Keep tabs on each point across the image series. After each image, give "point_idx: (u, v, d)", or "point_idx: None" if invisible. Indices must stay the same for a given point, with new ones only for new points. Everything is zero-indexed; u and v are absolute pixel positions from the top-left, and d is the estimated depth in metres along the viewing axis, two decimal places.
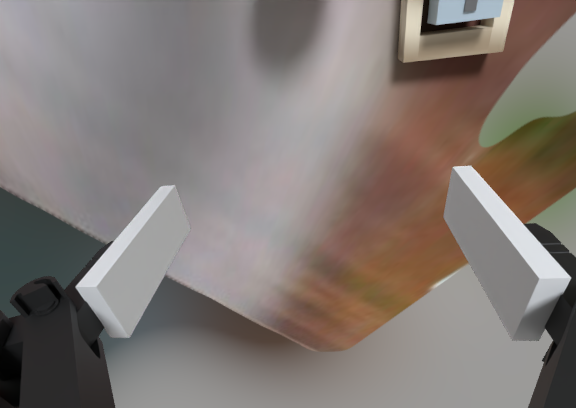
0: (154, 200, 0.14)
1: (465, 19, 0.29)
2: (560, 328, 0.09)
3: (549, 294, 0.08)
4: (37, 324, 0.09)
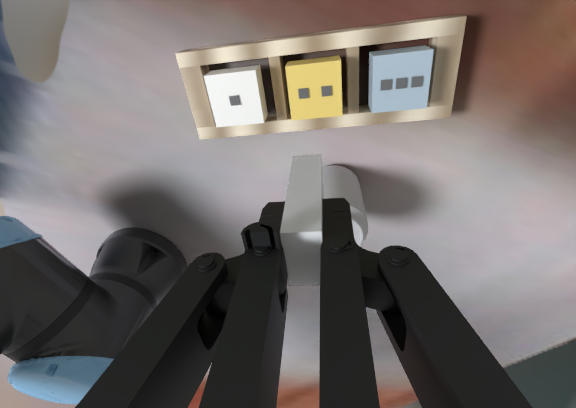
0: (297, 167, 0.15)
1: (428, 82, 0.31)
2: None
3: (313, 245, 0.11)
4: (251, 261, 0.10)
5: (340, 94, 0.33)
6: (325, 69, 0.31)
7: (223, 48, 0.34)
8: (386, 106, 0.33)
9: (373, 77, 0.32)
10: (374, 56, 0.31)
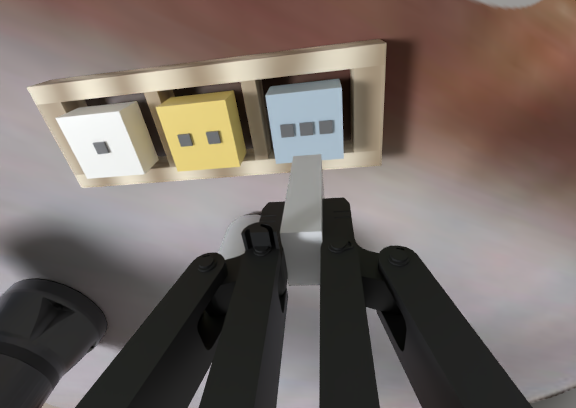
0: (297, 167, 0.15)
1: (340, 128, 0.24)
2: None
3: (313, 245, 0.11)
4: (251, 261, 0.10)
5: (232, 141, 0.25)
6: (207, 111, 0.24)
7: (85, 81, 0.26)
8: (293, 155, 0.26)
9: (270, 121, 0.24)
10: (267, 95, 0.23)
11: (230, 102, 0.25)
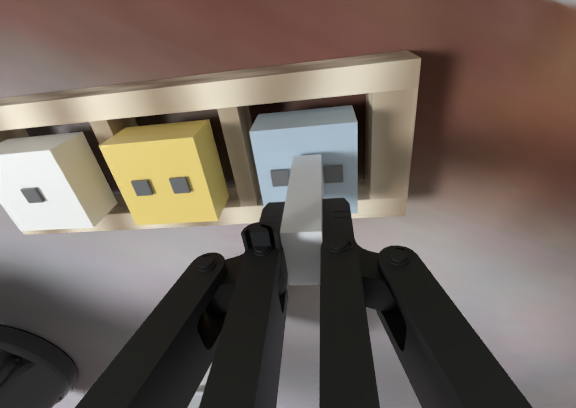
0: (297, 167, 0.15)
1: (354, 175, 0.17)
2: None
3: (313, 245, 0.11)
4: (251, 261, 0.10)
5: (206, 190, 0.19)
6: (169, 151, 0.17)
7: (10, 106, 0.20)
8: None
9: (257, 165, 0.18)
10: (252, 131, 0.17)
11: (202, 137, 0.18)
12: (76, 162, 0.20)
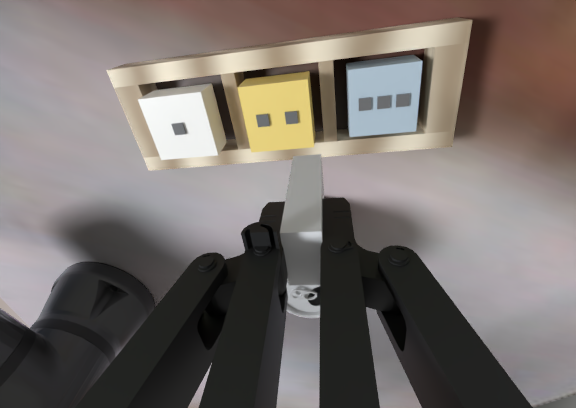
0: (297, 167, 0.15)
1: (416, 101, 0.25)
2: None
3: (313, 245, 0.11)
4: (251, 261, 0.10)
5: (309, 121, 0.26)
6: (288, 90, 0.24)
7: (164, 63, 0.27)
8: (367, 129, 0.27)
9: (349, 95, 0.26)
10: (349, 70, 0.25)
11: (309, 82, 0.25)
12: (210, 104, 0.27)
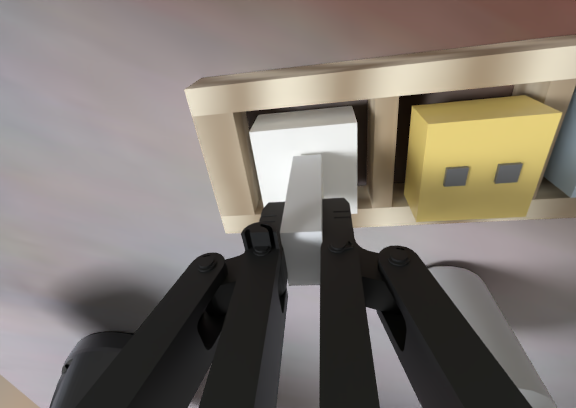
0: (297, 167, 0.15)
1: None
2: None
3: (313, 245, 0.11)
4: (251, 261, 0.10)
5: (535, 179, 0.15)
6: (518, 131, 0.14)
7: (283, 80, 0.16)
8: None
9: None
10: None
11: None
12: None
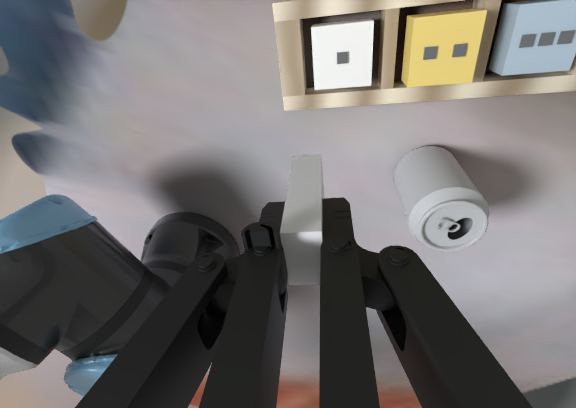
0: (297, 167, 0.15)
1: None
2: None
3: (313, 245, 0.11)
4: (251, 261, 0.10)
5: (475, 55, 0.27)
6: (464, 22, 0.26)
7: None
8: (521, 67, 0.28)
9: (513, 31, 0.27)
10: (521, 5, 0.26)
11: None
12: None
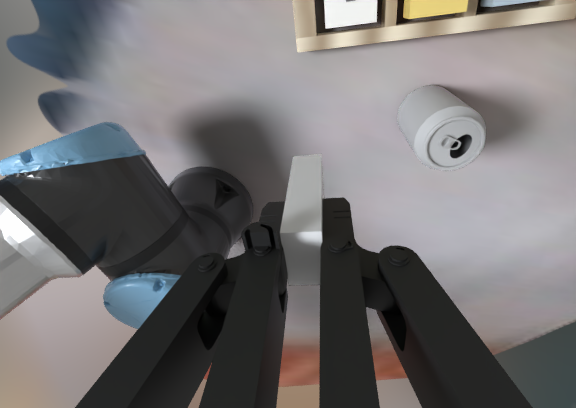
0: (297, 167, 0.15)
1: None
2: None
3: (313, 245, 0.11)
4: (251, 261, 0.10)
5: None
6: None
7: None
8: None
9: None
10: None
11: None
12: None
